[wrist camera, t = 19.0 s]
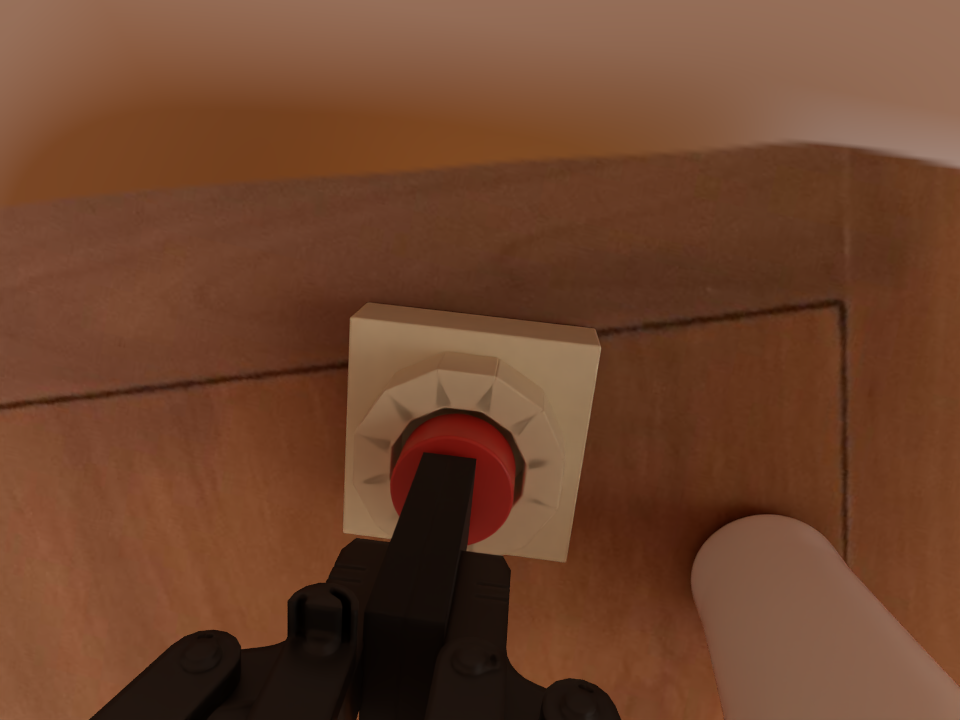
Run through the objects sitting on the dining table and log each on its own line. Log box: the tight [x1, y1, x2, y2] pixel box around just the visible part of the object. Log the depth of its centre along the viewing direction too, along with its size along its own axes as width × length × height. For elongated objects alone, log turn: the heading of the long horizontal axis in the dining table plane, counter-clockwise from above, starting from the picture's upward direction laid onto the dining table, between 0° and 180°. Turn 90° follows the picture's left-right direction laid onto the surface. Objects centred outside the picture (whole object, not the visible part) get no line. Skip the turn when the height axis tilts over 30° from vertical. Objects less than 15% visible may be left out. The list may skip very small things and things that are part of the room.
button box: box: [343, 302, 601, 562], centre depth 22 cm, size 8×8×4 cm
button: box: [390, 414, 516, 545], centre depth 19 cm, size 4×4×2 cm
